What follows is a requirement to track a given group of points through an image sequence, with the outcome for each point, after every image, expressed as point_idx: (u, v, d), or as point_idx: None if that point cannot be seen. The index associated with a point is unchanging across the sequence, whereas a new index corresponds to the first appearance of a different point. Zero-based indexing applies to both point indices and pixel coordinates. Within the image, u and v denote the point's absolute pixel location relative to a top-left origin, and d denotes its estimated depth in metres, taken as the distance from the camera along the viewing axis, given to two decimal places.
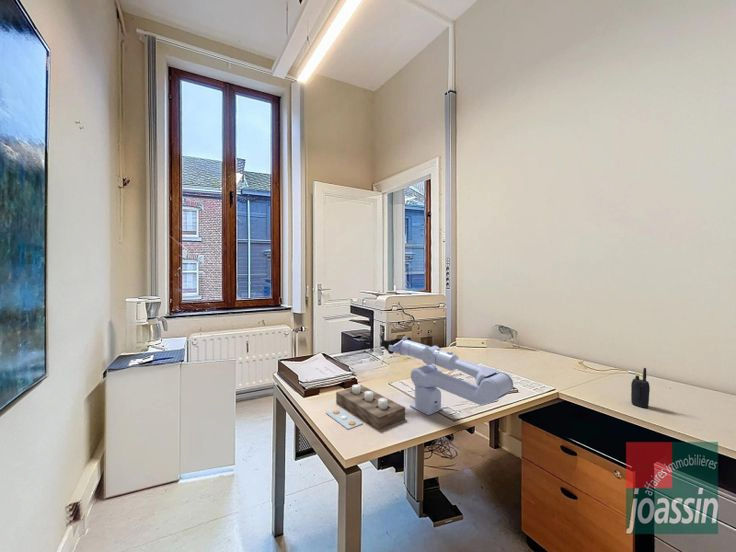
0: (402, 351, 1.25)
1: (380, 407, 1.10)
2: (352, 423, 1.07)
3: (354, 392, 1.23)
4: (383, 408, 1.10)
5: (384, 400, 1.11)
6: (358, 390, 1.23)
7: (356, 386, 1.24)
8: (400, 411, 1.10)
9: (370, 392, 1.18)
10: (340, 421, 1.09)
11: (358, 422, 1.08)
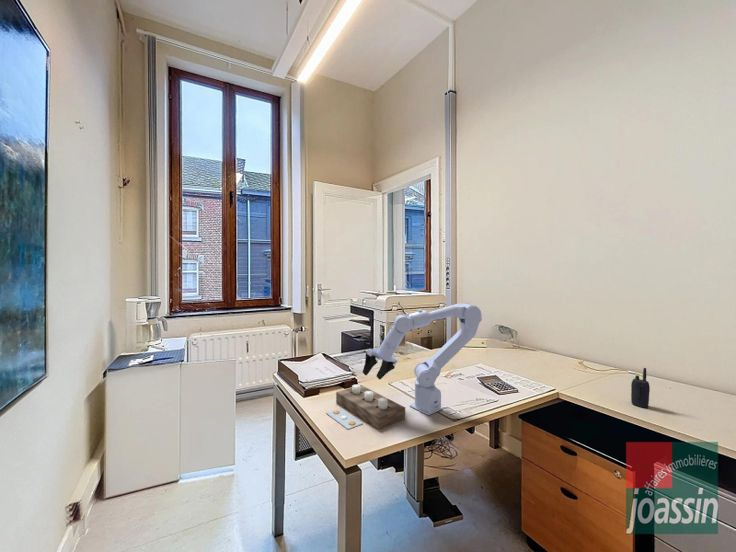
0: (383, 352, 1.17)
1: (380, 407, 1.10)
2: (352, 423, 1.07)
3: (354, 392, 1.23)
4: (383, 408, 1.10)
5: (384, 400, 1.11)
6: (358, 390, 1.23)
7: (356, 386, 1.24)
8: (400, 411, 1.10)
9: (370, 392, 1.18)
10: (340, 421, 1.09)
11: (358, 422, 1.08)
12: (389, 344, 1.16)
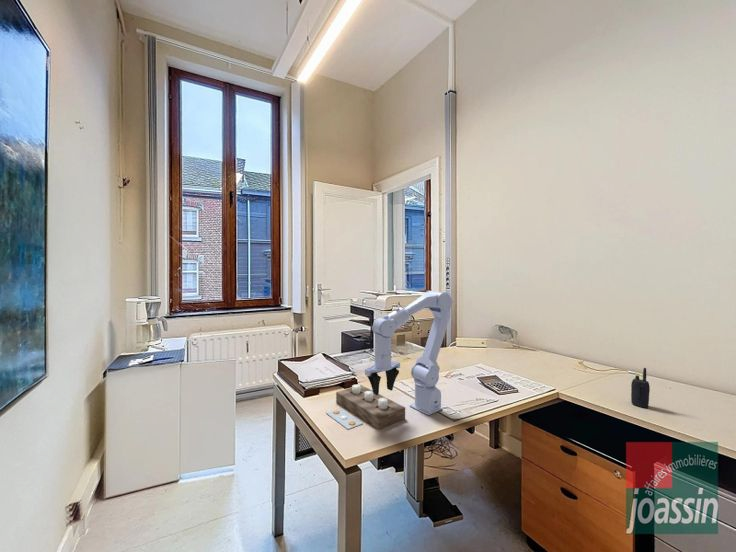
0: (379, 364, 1.09)
1: (380, 407, 1.10)
2: (352, 423, 1.07)
3: (354, 392, 1.23)
4: (383, 408, 1.10)
5: (384, 400, 1.11)
6: (358, 390, 1.23)
7: (356, 386, 1.24)
8: (400, 411, 1.10)
9: (370, 392, 1.18)
10: (340, 421, 1.09)
11: (358, 422, 1.08)
12: (385, 354, 1.08)
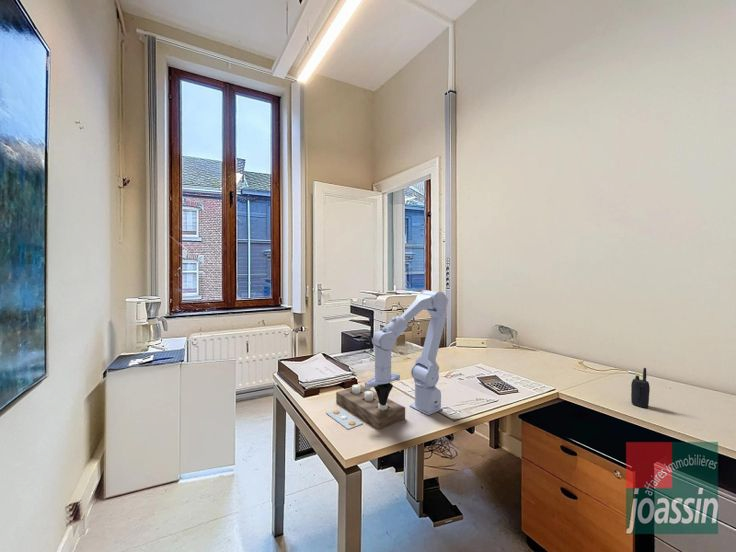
0: (379, 377, 1.09)
1: None
2: (352, 423, 1.07)
3: (354, 392, 1.23)
4: None
5: None
6: (358, 390, 1.23)
7: (356, 386, 1.24)
8: (400, 411, 1.10)
9: (370, 392, 1.18)
10: (340, 421, 1.09)
11: (358, 422, 1.08)
12: (385, 367, 1.08)
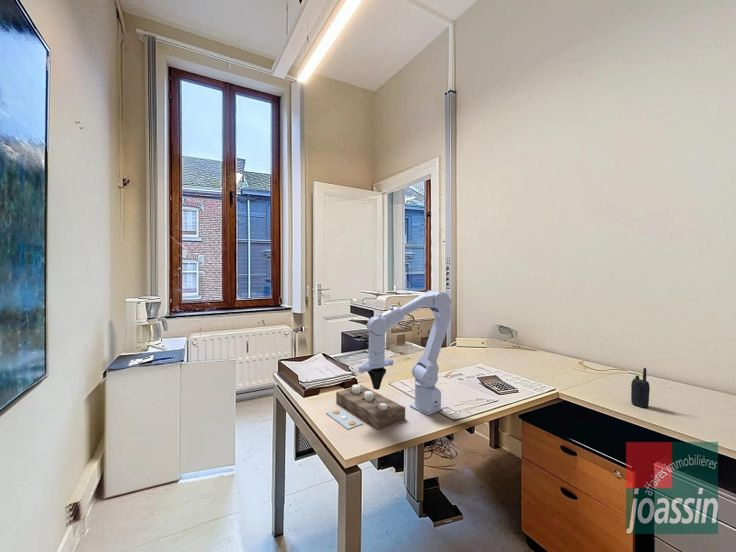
0: (373, 362, 1.11)
1: None
2: (352, 423, 1.07)
3: (354, 392, 1.23)
4: None
5: (384, 405, 1.11)
6: (358, 390, 1.23)
7: (356, 386, 1.24)
8: (400, 411, 1.10)
9: (370, 392, 1.18)
10: (340, 421, 1.09)
11: (358, 422, 1.08)
12: (377, 351, 1.11)
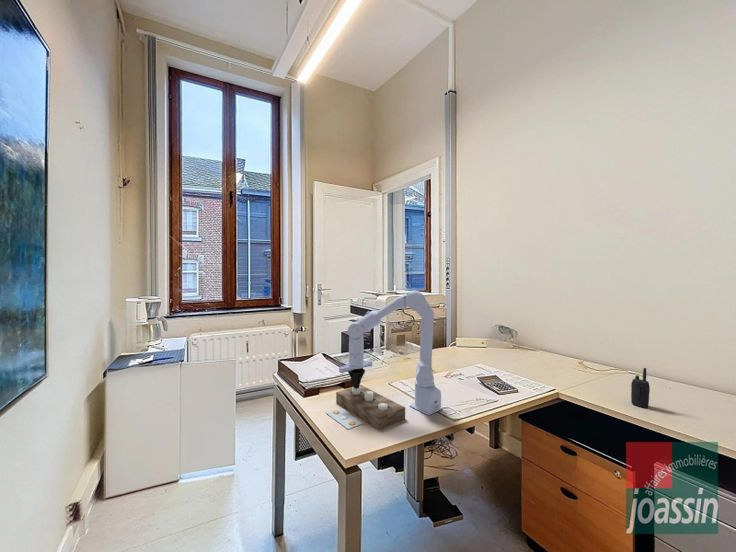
0: (352, 363, 1.21)
1: None
2: (352, 423, 1.07)
3: (354, 394, 1.23)
4: None
5: (384, 405, 1.11)
6: (358, 392, 1.23)
7: None
8: (400, 411, 1.10)
9: (370, 392, 1.18)
10: (340, 421, 1.09)
11: (358, 422, 1.08)
12: (352, 353, 1.21)
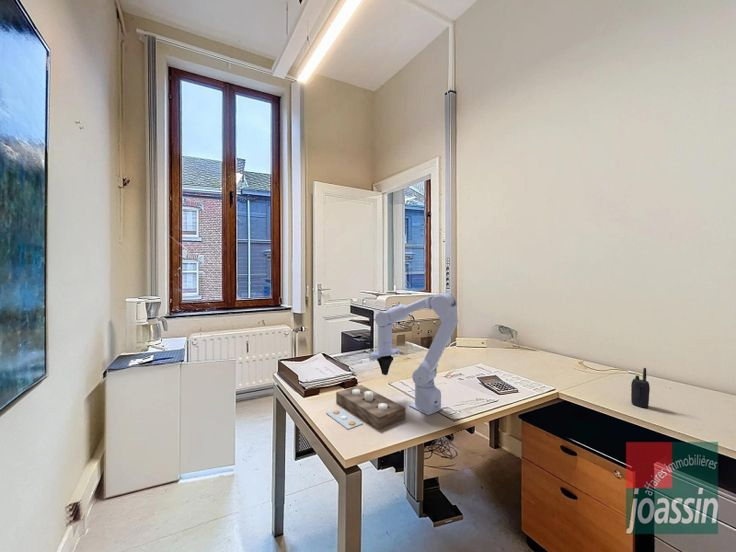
0: (382, 350, 1.26)
1: None
2: (352, 423, 1.07)
3: None
4: None
5: (384, 405, 1.11)
6: None
7: (356, 391, 1.24)
8: (400, 411, 1.10)
9: (370, 392, 1.18)
10: (340, 421, 1.09)
11: (358, 422, 1.08)
12: (379, 341, 1.27)
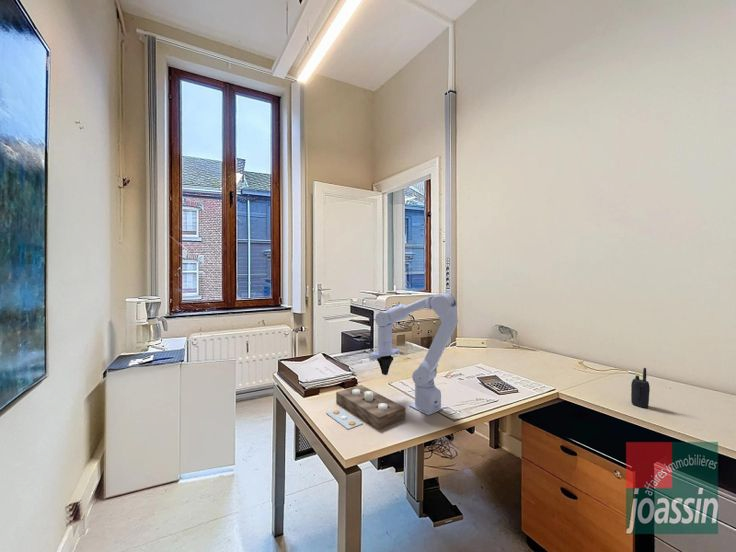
0: (382, 350, 1.26)
1: None
2: (352, 423, 1.07)
3: None
4: None
5: (384, 405, 1.11)
6: None
7: (356, 391, 1.24)
8: (400, 411, 1.10)
9: (370, 392, 1.18)
10: (340, 421, 1.09)
11: (358, 422, 1.08)
12: (379, 341, 1.27)
